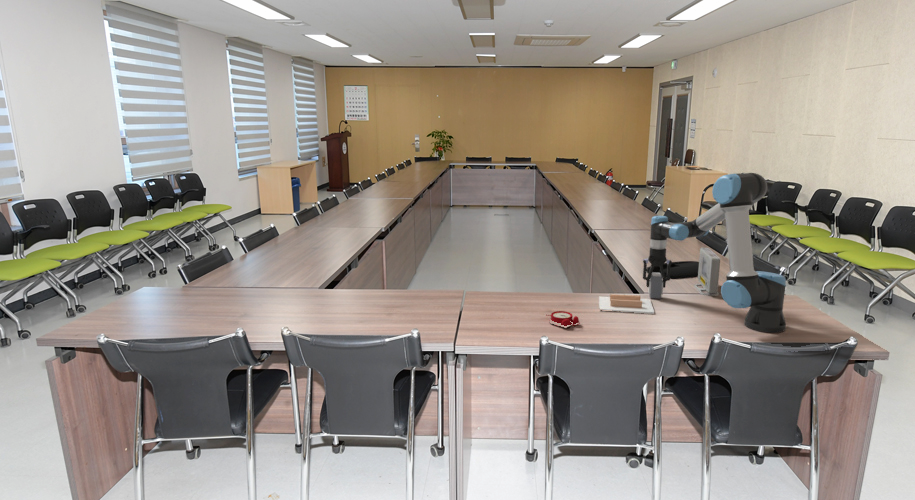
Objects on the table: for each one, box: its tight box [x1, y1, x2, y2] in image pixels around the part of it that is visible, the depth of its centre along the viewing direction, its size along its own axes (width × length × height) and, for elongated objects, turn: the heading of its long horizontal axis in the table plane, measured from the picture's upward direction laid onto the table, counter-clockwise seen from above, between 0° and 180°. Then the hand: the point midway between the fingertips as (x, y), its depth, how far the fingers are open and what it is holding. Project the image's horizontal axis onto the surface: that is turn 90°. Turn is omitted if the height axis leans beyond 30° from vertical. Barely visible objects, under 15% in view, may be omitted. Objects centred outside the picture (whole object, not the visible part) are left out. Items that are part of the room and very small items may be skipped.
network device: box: [693, 247, 721, 297], centre depth 278 cm, size 26×9×20 cm, turn 168°
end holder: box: [598, 293, 655, 315], centre depth 257 cm, size 20×24×4 cm
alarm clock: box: [545, 310, 581, 327], centre depth 235 cm, size 10×6×15 cm
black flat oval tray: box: [646, 260, 699, 280], centre depth 316 cm, size 25×41×5 cm, turn 111°
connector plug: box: [648, 273, 663, 300], centre depth 268 cm, size 5×5×12 cm
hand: (655, 293), depth 269 cm, fingers closed on connector plug, 5 cm apart
